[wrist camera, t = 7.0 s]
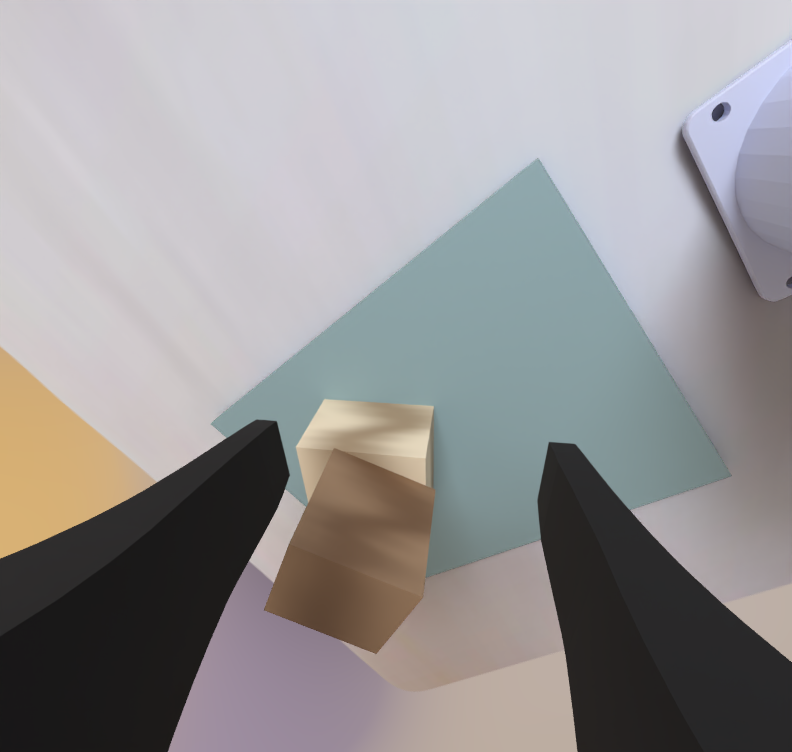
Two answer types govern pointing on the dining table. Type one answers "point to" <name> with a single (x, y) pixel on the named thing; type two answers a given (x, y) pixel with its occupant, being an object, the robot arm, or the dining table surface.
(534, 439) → the mat
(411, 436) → the maple block
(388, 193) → the dining table surface
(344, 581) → the walnut cube
